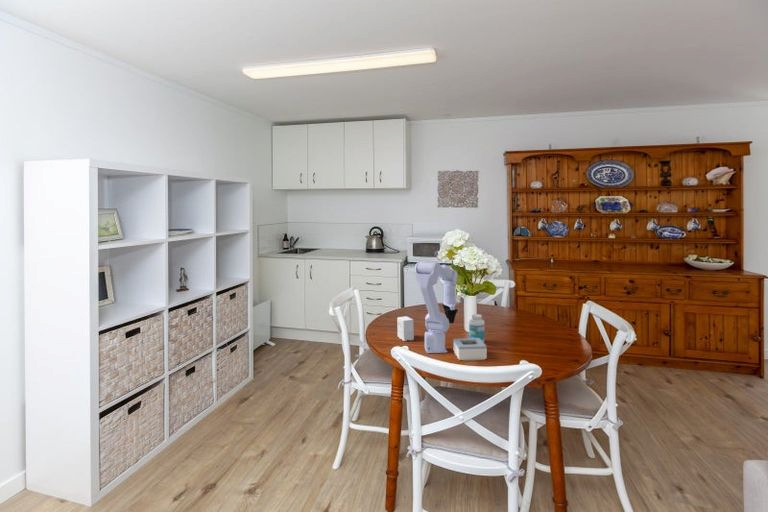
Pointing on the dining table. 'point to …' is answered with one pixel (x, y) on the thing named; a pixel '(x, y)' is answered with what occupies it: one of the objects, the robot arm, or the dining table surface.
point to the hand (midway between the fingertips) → (449, 320)
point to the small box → (405, 328)
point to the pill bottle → (477, 327)
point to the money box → (469, 349)
